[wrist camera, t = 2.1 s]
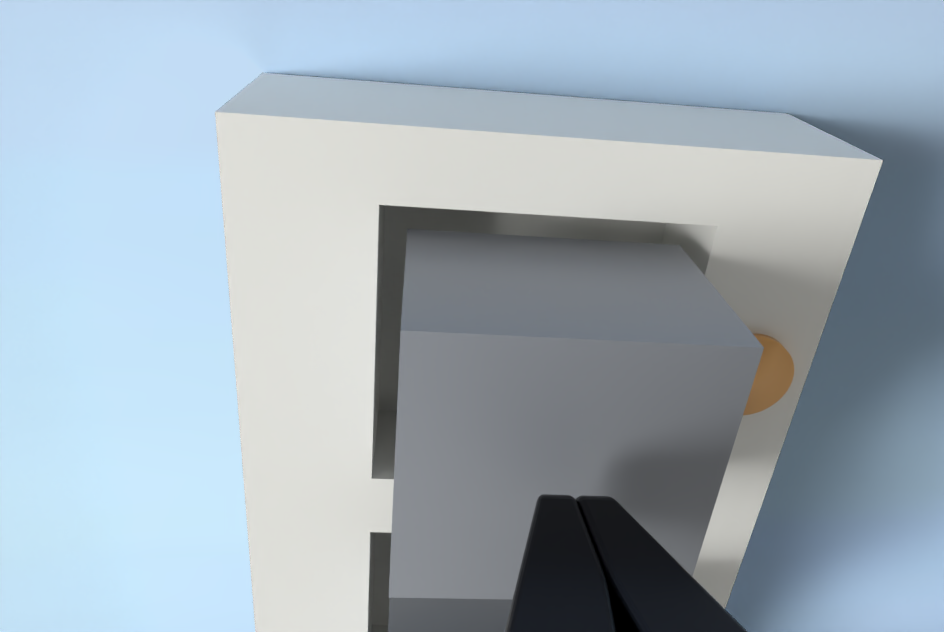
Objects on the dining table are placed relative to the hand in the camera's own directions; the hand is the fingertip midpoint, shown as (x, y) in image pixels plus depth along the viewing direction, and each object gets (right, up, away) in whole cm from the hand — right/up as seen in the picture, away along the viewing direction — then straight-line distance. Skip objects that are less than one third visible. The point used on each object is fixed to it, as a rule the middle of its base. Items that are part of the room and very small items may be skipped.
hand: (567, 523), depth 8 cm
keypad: (-1, -2, +8) cm, 9 cm away
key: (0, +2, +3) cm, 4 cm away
